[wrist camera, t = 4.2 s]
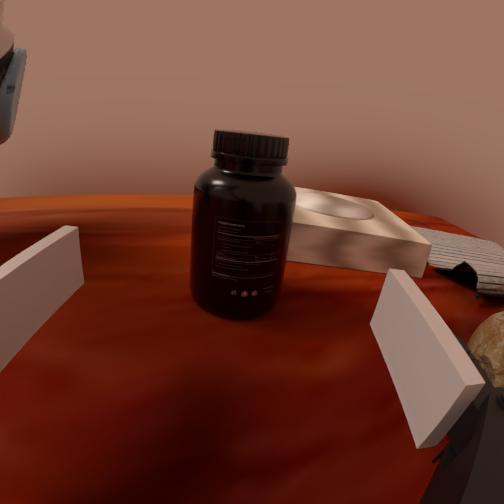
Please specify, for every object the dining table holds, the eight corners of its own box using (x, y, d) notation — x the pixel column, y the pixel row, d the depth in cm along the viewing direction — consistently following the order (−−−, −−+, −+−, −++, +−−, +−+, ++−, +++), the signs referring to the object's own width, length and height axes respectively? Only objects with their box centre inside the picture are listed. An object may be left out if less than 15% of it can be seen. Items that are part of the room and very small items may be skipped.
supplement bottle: (188, 273, 26) (197, 127, 21) (266, 275, 27) (287, 136, 22) (190, 323, 19) (201, 128, 15) (289, 321, 21) (323, 143, 16)
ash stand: (243, 254, 31) (248, 213, 29) (254, 206, 49) (257, 179, 47) (421, 277, 30) (433, 242, 29) (371, 223, 49) (377, 199, 47)
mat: (486, 252, 47) (493, 230, 45) (560, 314, 25) (573, 286, 23) (392, 234, 47) (399, 207, 45) (465, 311, 25) (482, 270, 23)
